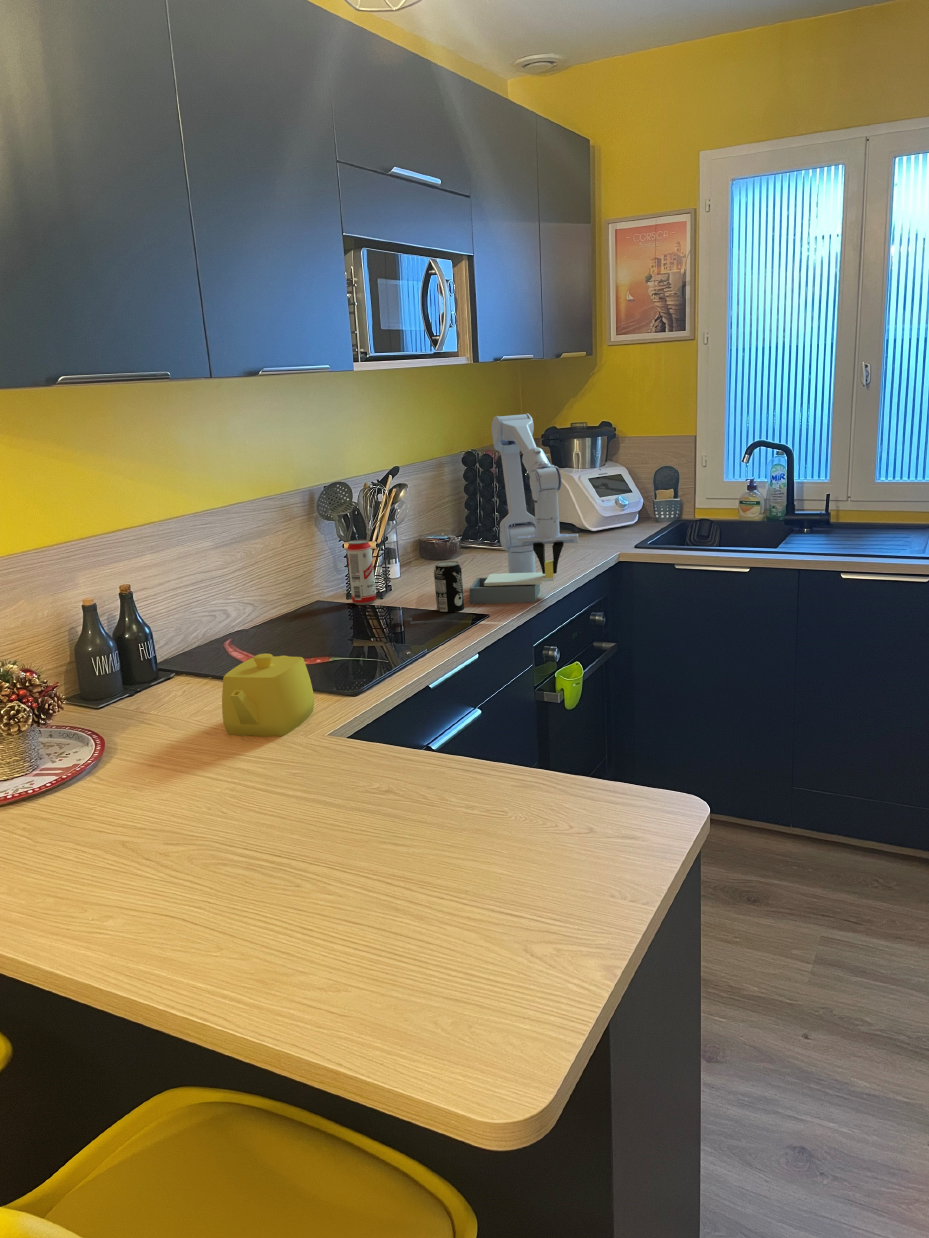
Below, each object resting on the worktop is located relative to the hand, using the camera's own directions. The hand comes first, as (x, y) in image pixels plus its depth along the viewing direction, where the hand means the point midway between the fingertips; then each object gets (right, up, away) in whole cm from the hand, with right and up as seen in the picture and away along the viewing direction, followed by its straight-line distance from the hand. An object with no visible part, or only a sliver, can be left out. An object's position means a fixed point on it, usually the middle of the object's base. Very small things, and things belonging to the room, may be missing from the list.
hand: (549, 573), depth 222 cm
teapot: (-54, -29, -70) cm, 93 cm away
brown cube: (-8, -6, +1) cm, 10 cm away
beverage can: (-24, -10, -5) cm, 27 cm away
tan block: (-13, -5, +6) cm, 16 cm away
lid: (-7, -2, +2) cm, 7 cm away
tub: (-11, -6, +4) cm, 13 cm away
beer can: (-47, -7, +11) cm, 49 cm away
